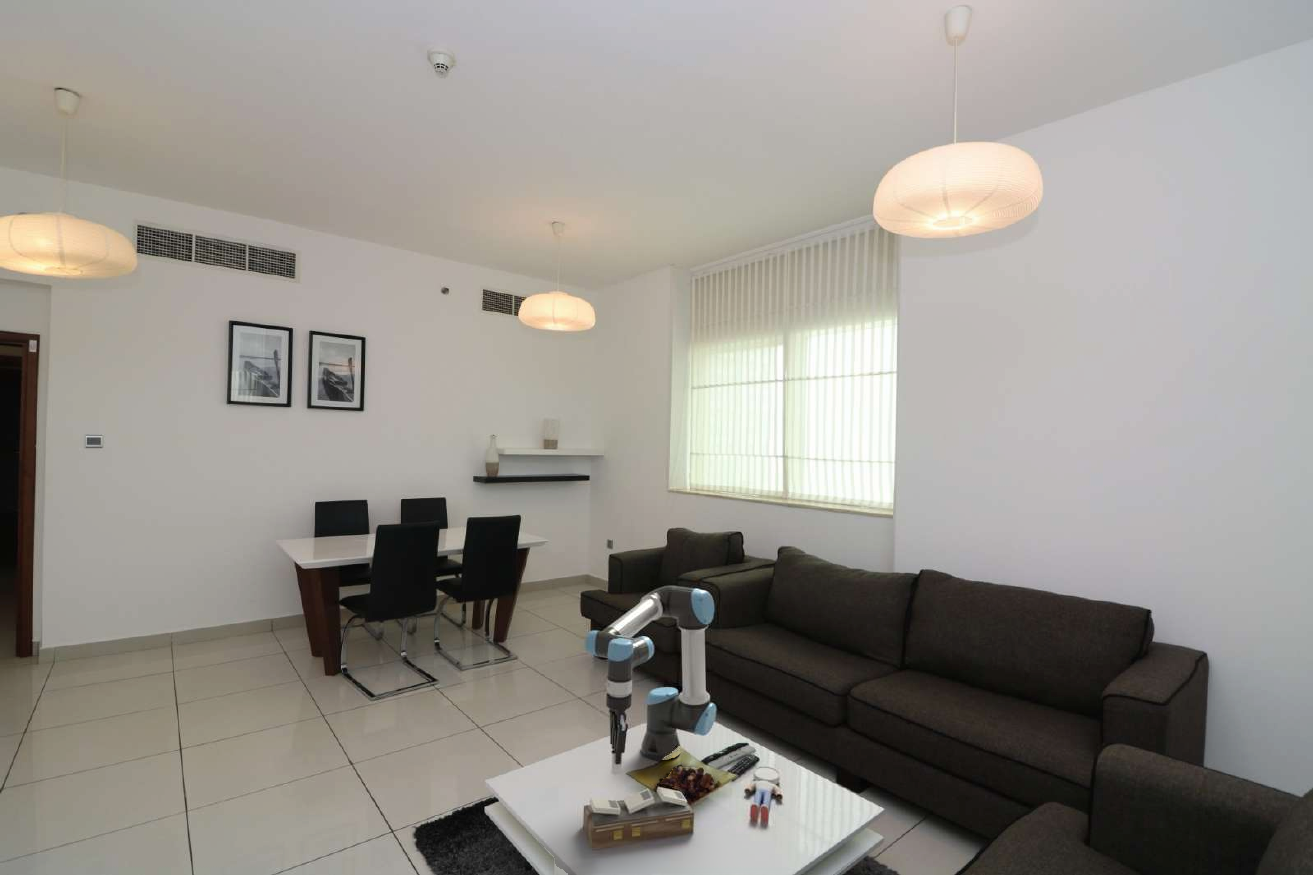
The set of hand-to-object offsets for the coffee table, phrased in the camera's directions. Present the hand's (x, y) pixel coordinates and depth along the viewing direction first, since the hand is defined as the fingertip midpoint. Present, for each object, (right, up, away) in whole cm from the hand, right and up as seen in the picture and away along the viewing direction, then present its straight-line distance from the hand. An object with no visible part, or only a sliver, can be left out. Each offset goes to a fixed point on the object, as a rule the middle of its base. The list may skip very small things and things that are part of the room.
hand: (616, 773), depth 184 cm
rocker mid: (+7, -9, +2) cm, 12 cm away
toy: (+48, -21, +23) cm, 57 cm away
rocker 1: (-3, -9, -2) cm, 10 cm away
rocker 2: (+17, -10, +5) cm, 20 cm away
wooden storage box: (+6, -18, +1) cm, 19 cm away
